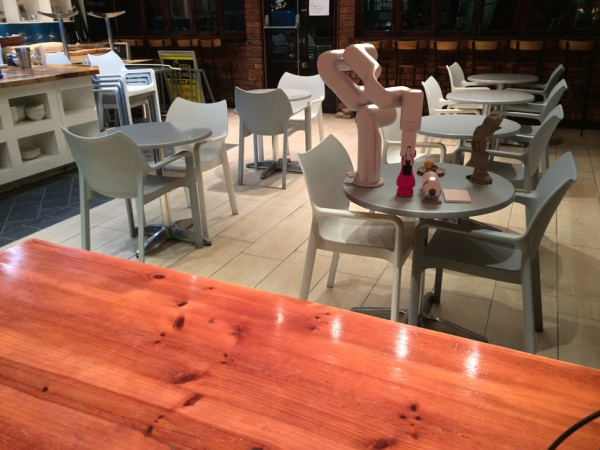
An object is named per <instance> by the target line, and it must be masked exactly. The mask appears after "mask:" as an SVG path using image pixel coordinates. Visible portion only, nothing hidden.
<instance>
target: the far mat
mask: <svg viewBox="0 0 600 450" xmlns="http://www.w3.org/2000/svg"><path fill="white" fill-rule="evenodd" d="M442 194H443V198H444V202H445V203H460V204H461V203H466V204H472V199H471V197H470V194H469V192H468V189H451V188H450V189H449V188H448V189H447V188H446V189H445V188H443V189H442Z"/></svg>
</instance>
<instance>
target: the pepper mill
mask: <svg viewBox="0 0 600 450" xmlns="http://www.w3.org/2000/svg"><path fill="white" fill-rule="evenodd" d="M400 153H401V150H400V151H399V154H400ZM412 155H413V154H412ZM416 156H417V150H416V149H415V153H414V157H413V158H412V164H411V165H412V171H411V176H405V175H402V172H403V165H404V157H403V156H402V157H401V156H400V164H401V167H400V168H401V169H400V171H399V173H398V176H397V178H396V181H395V184H396V186H397V188H396V195H398V196H401V197H411V196H413V195H414V191H415V190H414V187H415V186H416V185H417V184H416V181H417V180H416V177H415V174H414V172H413V170H414V169H413V168H414V164H415V161H416V160H415V158H416ZM405 157H407V155H406V156H405ZM410 157H411V155H410ZM406 159H407V158H406ZM405 163H406V162H405Z"/></svg>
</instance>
